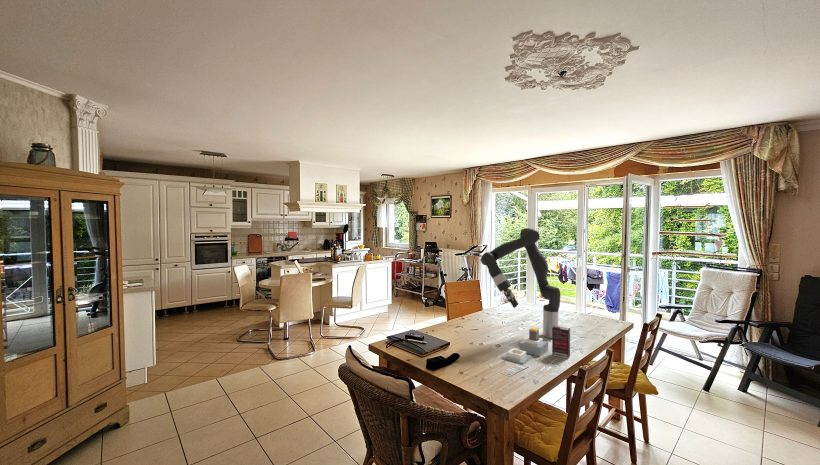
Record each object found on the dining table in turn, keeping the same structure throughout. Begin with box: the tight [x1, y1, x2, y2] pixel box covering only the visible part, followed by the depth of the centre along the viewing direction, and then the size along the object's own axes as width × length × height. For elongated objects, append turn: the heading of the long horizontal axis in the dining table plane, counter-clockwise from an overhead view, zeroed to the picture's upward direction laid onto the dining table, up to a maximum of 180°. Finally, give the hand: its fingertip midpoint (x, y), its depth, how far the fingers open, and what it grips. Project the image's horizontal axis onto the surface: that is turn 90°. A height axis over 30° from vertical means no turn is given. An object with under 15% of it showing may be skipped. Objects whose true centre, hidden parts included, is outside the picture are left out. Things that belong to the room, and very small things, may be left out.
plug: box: [528, 326, 540, 341], centre depth 192 cm, size 4×4×8 cm
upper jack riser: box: [519, 336, 549, 357], centre depth 192 cm, size 12×12×7 cm
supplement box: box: [551, 325, 571, 359], centre depth 185 cm, size 9×5×16 cm, turn 53°
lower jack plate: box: [501, 347, 533, 365], centre depth 181 cm, size 12×12×4 cm
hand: (516, 306), depth 196 cm, fingers open, 8 cm apart
